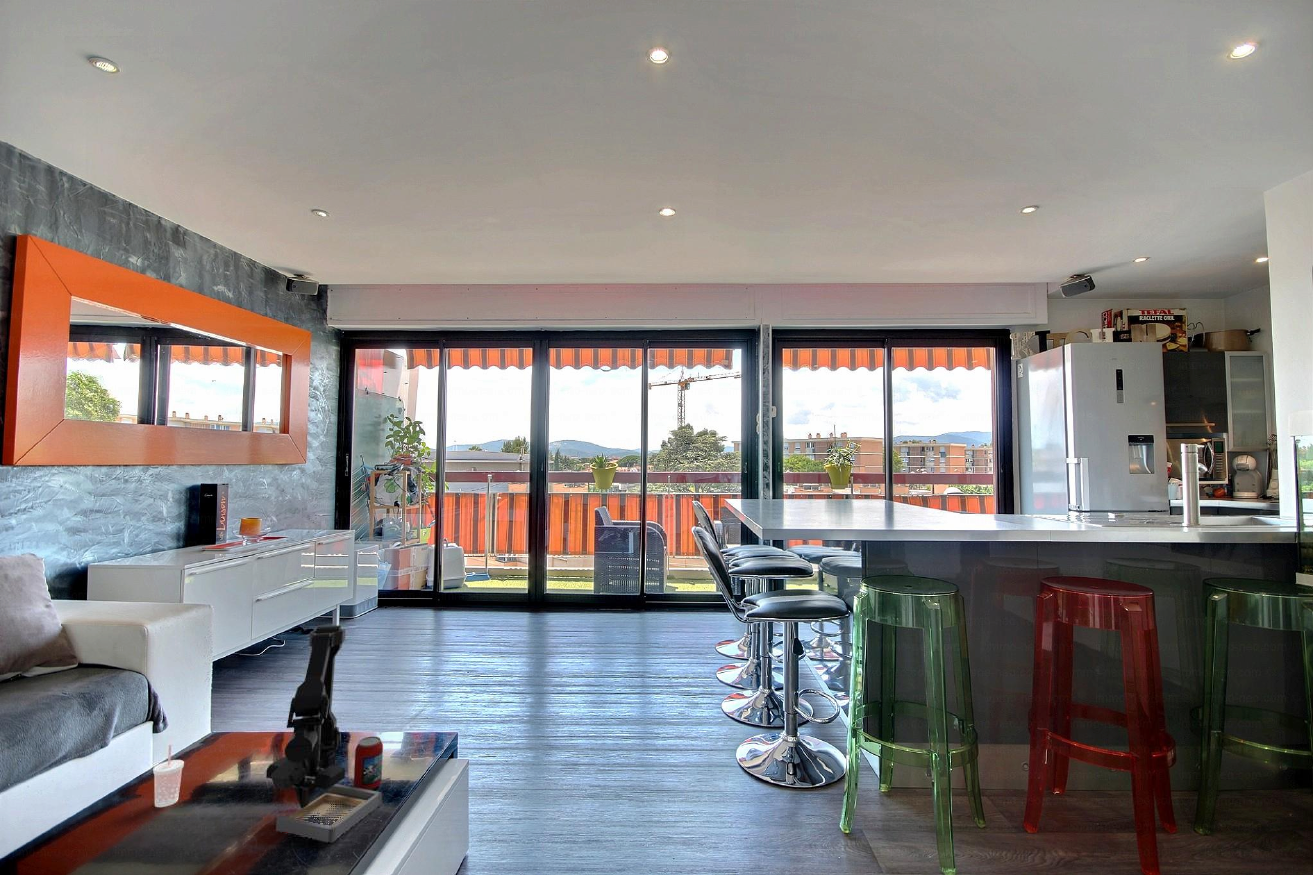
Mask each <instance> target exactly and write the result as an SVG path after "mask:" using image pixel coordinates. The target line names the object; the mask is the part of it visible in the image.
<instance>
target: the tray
mask: <svg viewBox="0 0 1313 875" xmlns="http://www.w3.org/2000/svg"><path fill="white" fill-rule="evenodd" d="M366 801H367V800H362V799H357V798H352V797H347V796H342V795H337V794H331V793H327V792H325V793H323V794H322V795H320V796H318V797H317V798H316V799H314V800H313V801H311V802H309V803H308V805H306V806H305V807H303V808H300V809H299V810H298V811H296V812H293V813H292V814H291V815H290V816H289V818H294V819H299V818H301V817H311V816H304V815H319V816H314V817H339V818H328V819H334V820H335V819H338V820H337V821H336V822H335V821H333V822H334V823H333V824H332V825H330V826H333V825H335V824H336V823H337V822H339V821H340V820H341V819H343V818H344V817H345V816H347V815H348V814H349V813H351V812H352V811H353V810H355V809H356V808H358V807H359V806H360V805H362V804H363V803H364V802H366ZM331 804H332V805H331ZM333 804H334V805H333ZM335 804H339V805H335ZM340 804H341V805H340ZM342 804H344V805H342ZM345 804H346V805H345ZM349 805H350V806H351V807H345V806H349ZM331 806H332V807H331ZM333 806H334V807H333ZM335 806H337V807H335ZM338 806H339V807H338ZM340 806H341V807H340ZM343 806H344V807H343ZM352 806H356V807H352ZM329 808H330V809H329ZM331 808H332V809H331ZM333 808H334V809H333ZM335 808H339V809H335ZM343 808H353V809H343ZM327 810H328V811H327ZM329 810H330V811H329ZM331 810H332V811H331ZM333 810H334V811H333ZM336 810H337V811H336ZM348 810H351V811H348ZM336 812H337V813H340V814H330V815H342V816H330V815H329V814H326V813H336ZM307 813H315V814H307ZM317 813H320V814H317ZM341 813H347V814H341ZM322 815H328V816H322ZM343 815H344V816H343ZM312 817H313V816H312ZM340 817H341V818H340ZM301 819H308V818H301ZM314 819H315V818H314ZM316 819H317V818H316ZM319 819H320V818H319ZM321 819H322V818H321ZM323 819H324V818H323ZM325 819H327V818H325ZM320 822H322V821H320ZM328 822H329V821H328ZM320 824H323V823H320ZM328 824H329V823H328ZM327 826H329V825H327Z"/></svg>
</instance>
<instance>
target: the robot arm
mask: <svg viewBox="0 0 1313 875" xmlns="http://www.w3.org/2000/svg"><path fill="white" fill-rule="evenodd" d="M345 639H346V629H345V628H342V625H339V624H338V625H319V626H317V627H316V629H315V630H312V631H310V632H309V640H308V642H309V643H308V646H309V647H311V651H310V656H309V659H308V664H307V669H306V672H305V676H304V677H305V678H304V681H303V682H302V683H301V684H300V685H299V686H298V687H297V689H296V692H295V695H294V697H292V699H291V700H290V707H289V712H288V718H287V723H286V729H292V728H293V733H292V735H291V737H290V738H289V740H288V742H287V744H286V746H285V748H284V756H283V757H282V758H280V759H278V760H277V761H274V762H273V763H271V764H269V765H268V767H267V768H266V773H265V774H266V775H265V778H266V779H271V781H272V784H273V787H274V788H276V789H277V788H279V789H283V790H289V789H292V788H293V790H294V793H295V795H296V797H297V801H298V804H299V807H300V809H302V808H303V807H305V806H306V805H308V804H309V803H310V801H311V799H312V797H313V795H314V793H315V791H316V789H323V790H328V789H329V788H330V787H332V786H334V785H335V784H339V783H340V782H341V781H343V780H344V779H345V776H346V769H345V768H344V767H342V766H339V765H338V764H336V753H335V751H337V750H338V748H341V746H342V735H341V732H340V728H339V726H338V725H337V722H338V721H337V718H336V716H335V714H334V713H333V711H332V708H333V707H332V706H333V704H332V702H333V692H334V679H335V678H334V677H335V665H336V663H335V662H336V657H337V654H338V653H339V652H340V650H341V649H342V647H343V643H345ZM294 717H295V718H294Z"/></svg>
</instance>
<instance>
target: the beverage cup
mask: <svg viewBox="0 0 1313 875" xmlns="http://www.w3.org/2000/svg"><path fill="white" fill-rule="evenodd" d="M167 754H168V756H167V757H168V758H167V761H163V762H161V763H159V764H157V765H155V766H154V767H153V769H152V770H153V771H152V773H153V774H154V775H153V776H154V780H153V781H154V806H155V807H156V808H165V807H169V806H172V805H174V804H176V803H177V802H178V800H179V794H180V787H181V783H182V781H181V779H182V772H183V768H184V766H185V765H184V764H185V761H184V760H181V759H172V760H171V756H172V755H171V754H172V744H170V745H168V753H167Z"/></svg>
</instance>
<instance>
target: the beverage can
mask: <svg viewBox="0 0 1313 875" xmlns="http://www.w3.org/2000/svg"><path fill="white" fill-rule="evenodd" d="M354 751H355V753H354V769H353V770H354V771H353V773H354V774H353V787H355V788H361V789H366V790H371V791H373V790H374V789H376V788H377V787H378V786H380V785H381V783H382V778H383V777H382V774H383V772H382V771H383V757H384V755H383V753H384V744H383V743H382V740H381V737H378V736H368V737H364V738H362V739H360V740H359V741H358V744H357V745H356V747H355V749H354Z"/></svg>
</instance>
